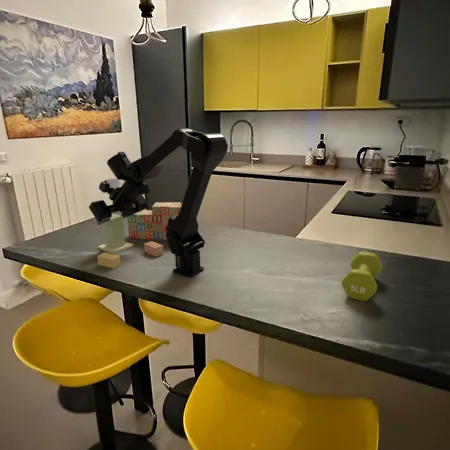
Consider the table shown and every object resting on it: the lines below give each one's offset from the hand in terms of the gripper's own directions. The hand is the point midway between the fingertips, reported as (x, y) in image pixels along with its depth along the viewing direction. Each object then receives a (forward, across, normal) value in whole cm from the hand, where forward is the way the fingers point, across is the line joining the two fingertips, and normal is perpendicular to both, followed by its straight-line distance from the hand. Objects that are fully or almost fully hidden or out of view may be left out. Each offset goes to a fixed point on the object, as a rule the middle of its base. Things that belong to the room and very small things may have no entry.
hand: (110, 220), depth 111 cm
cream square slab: (+6, 0, +8) cm, 10 cm away
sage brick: (+5, 0, +7) cm, 8 cm away
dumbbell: (-47, -18, +60) cm, 79 cm away
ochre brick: (-2, +10, +15) cm, 18 cm away
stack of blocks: (+3, -16, +11) cm, 20 cm away
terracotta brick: (-4, -4, +18) cm, 18 cm away
